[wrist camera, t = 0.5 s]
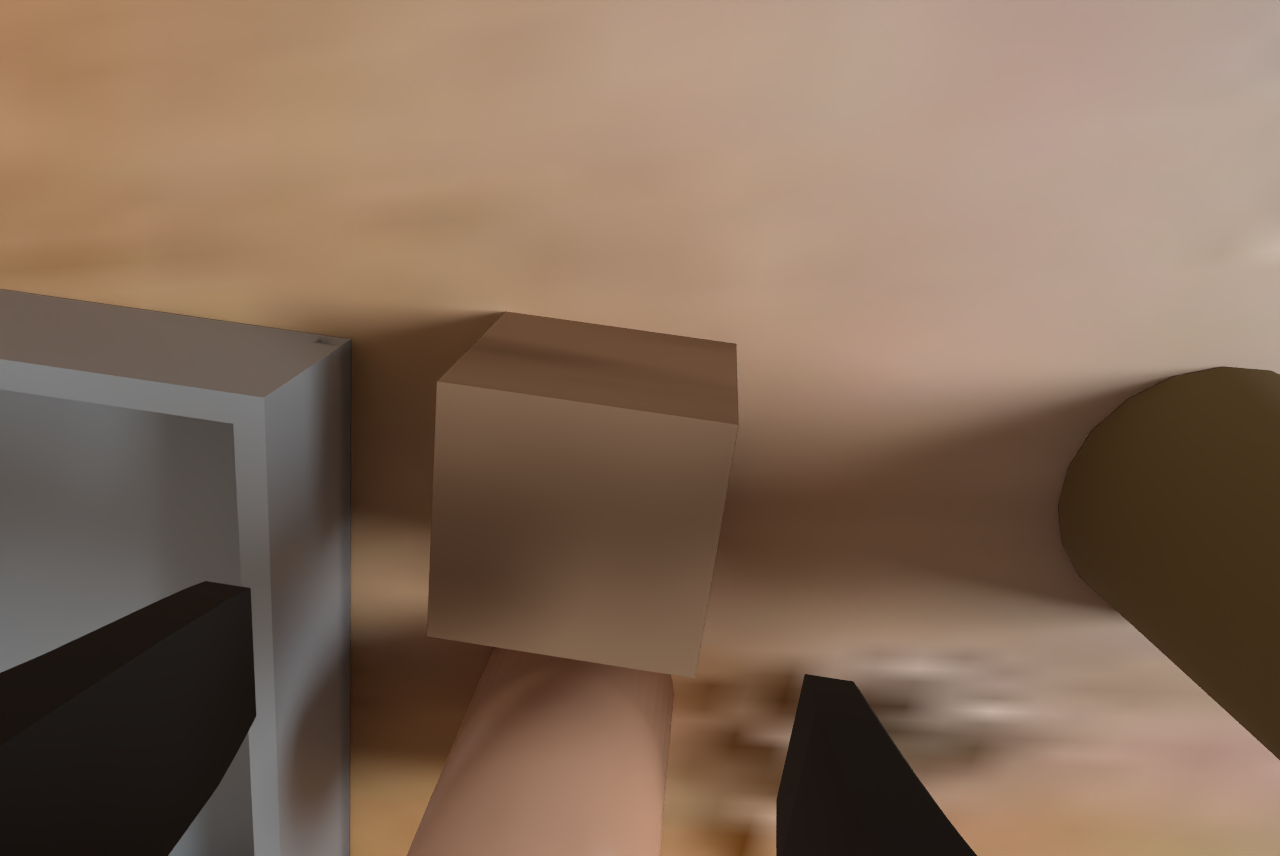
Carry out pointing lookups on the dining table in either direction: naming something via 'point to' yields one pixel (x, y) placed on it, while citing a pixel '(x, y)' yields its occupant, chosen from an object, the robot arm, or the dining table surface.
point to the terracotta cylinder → (554, 763)
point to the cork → (1190, 531)
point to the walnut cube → (581, 491)
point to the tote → (190, 526)
